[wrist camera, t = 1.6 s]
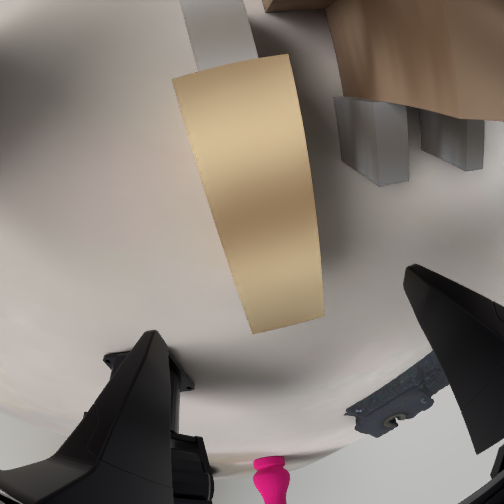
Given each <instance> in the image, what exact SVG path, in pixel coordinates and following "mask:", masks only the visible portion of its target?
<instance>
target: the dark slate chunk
mask: <svg viewBox="0 0 504 504" xmlns="http://www.w3.org/2000/svg"><path fill="white" fill-rule="evenodd" d="M448 385H449V382H448V380H447V377H446V375H445V373H444V371H443V369H442V367H441V365H440V363H439V361H438V359H437V357H436V355H435V353H434V351H432V352H431V353H429V354H428V355H427V356H425V357H424V358H423V359H422V360H420V361H419V362H417V363H416V364H415V365H413V366H412V367H411V368H409V369H408V370H407V371H405V372H404V373H402V374H401V375H399V376H398V377H397V378H396V379H394V380H392V381H391V382H389V383H388V384H386V385H385V386H383V387H382V388H380V389H379V390H377V391H376V392H374V393H373V394H371V395H370V396H368V397H366V398H364V399H363V400H361V401H359V402H357V403H356V404H354V405H353V406H351V407H349V408H347V409H346V412H347V413H345V414H344V415H349V416H355V417H356V426H355V430H356V431H359V432H361V433H365V434H370V435H372V436H374V437H376V438H378V437H380V436H382V435H383V434H386V433H387V432H388V431H390V430H393V429H394V428H395V427H397V426H398V424H397V423H396V419H395V418H397V419H398V420H404V419H410V418H413V417H414V416H416V415H417V414H418V413H419V412H421V411H425V410H426V409H428V408H430V407H431V406H432V405H433V403H434V400H433V399H431V396H432V395H433V394H436V393H437V392H438V391H439V390H440V389H442V388H444V387H445V386H448Z"/></svg>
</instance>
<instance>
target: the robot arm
mask: <svg viewBox="0 0 504 504" xmlns="http://www.w3.org/2000/svg"><path fill="white" fill-rule="evenodd" d="M403 287H404V290H405V293H406V295H407V297H408V299H409V301H410V304H411V306H412V308H413V310H414V313H415V315H416V318H417V320H418V322H419V324H420V326H421V328H422V330H423V332H424V333H425V335H426V337H427V339H428V341H429V343H430V345H431V347H432V349H433V351H434V353H435V355H436V357H437V359H438V361H439V363H440V365H441V367H442V369H443V371H444V373H445V375H446V377H447V380H448V382H449V384H450V386H451V388H452V391H453V393H454V395H455V398H456V400H457V403H458V405H459V407H460V410H461V411H462V412H461V413H462V415H463V418H464V421H465V423H466V426H467V428H468V431H469V434H470V437H471V440H472V443H473V445H474V449H475V452H476V454H479V453H481V452H483V451H485V450H486V449H488V448H489V447H491V446H493V445H494V444H496V443H497V442H499V441H500V440H502V439H503V438H504V307H503V306H501V305H499V304H498V303H496V302H494V301H493V302H492V300H490V299H488V298H486V297H484V296H482V295H480V294H478V293H476V292H474V291H472V290H470V289H468V288H466V287H464V286H462V285H460V284H458V283H456V282H454V281H452V280H450V279H448V278H446V277H444V276H442V275H440V274H438V273H436V272H433V271H431V270H429V269H427V268H425V267H423V266H420V265H418V264H413V265H410V266H408V267H407V268H406V270H405V277H404V282H403ZM103 361H104V362H105V363H106V364H107V366H108V367H109V368H110V369H111V370H112V372H111V376H110V381H109V382H108V384H107V385H106V386H105V388H104V389H103V391H102V392H101V394H100V395H99V396H98V398H97V399H96V401H95V402H94V404H93V405H92V407H91V408H90V409H89V411H88V412H84V416H83V419H82V421H81V422H80V423H79V425H78V426H77V427H76V429H75V430H74V431H73V432H72V434H71V435H70V436H69V437H68V439H67V440H66V441H65V442H64V444H63V445H62V446H61V447H60V448H59V450H58V451H57V452H56V453H55V454H54V455H53V456H51V457H50V458H48V459H46V460H43V461H40V462H37V463H33V464H30V465H26V466H23V467H19V468H16V469H12V470H4V471H3V470H0V490H1V491H2V492H4V493H5V494H7V495H8V496H7V495H5V494H3V493H1V492H0V504H212V501H211V499H212V498H213V493H214V480H213V476H212V472H211V468H210V465H209V461H208V457H207V453H206V449H205V445H204V441H203V438H202V437H199V436H195V437H193V436H188V435H183V434H179V405H180V392H182V391H191V390H194V389H195V385H194V383H193V382H192V380H191V379H190V378H189V377H188V375H187V374H186V373H185V372H184V370H183V369H182V368H181V366H180V365H179V364H178V362H177V361H176V360H175V358H174V357H173V356H172V354H171V353H170V351H169V350H168V347H167V345H166V343H165V341H164V340H163V338H162V337H161V335H160V334H159V332H158V331H156V330H150V331H146V332H145V333H144V334H143V335H142V336H141V338H140V339H139V341H138V342H137V343H136V345H135V346H134V347H133V349H132V350H131V351H130V352H125V353H116V354H106V355H104V358H103ZM490 475H491V478H492V480H491V481H489V482H488V483H487V484H485V485H484V486H483V487H481V488H480V489H479V490H477V491H476V492H475V493H473V494H472V495H471V496H469V497H467V498H466V499H464V500H463V501H461V502H460V503H459V504H504V444H503V445H502V446H501V447H500V448H499V450H498V454H497V457H496V460H495V463H494V466H493V469H492V472H491V474H490ZM9 496H10V497H9Z"/></svg>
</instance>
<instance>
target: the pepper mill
mask: <svg viewBox="0 0 504 504" xmlns="http://www.w3.org/2000/svg"><path fill="white" fill-rule="evenodd" d="M253 463H254V469H256V470H257V472H256V473H255V475H254V477H253V481H254V484H255V486H256V488H257V489H258V491H259V492H260V493H261V495H262V497H263V499H264V502H265V504H286V492H287V488H288V485H289V481H290V475H289V472H288V471H287V470H286V469H284V468H283V466H284V465H285V460H284V457H282V456H272V457H264V458H260V459H257V460H255V461H254V462H253Z"/></svg>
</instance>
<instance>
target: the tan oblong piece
mask: <svg viewBox="0 0 504 504" xmlns="http://www.w3.org/2000/svg"><path fill="white" fill-rule="evenodd" d="M180 4H181V8H182V12H183V15H184V19H185V23H186V27H187V31H188V34H189V38H190V42H191V46H192V49H193V53H194V57H195V61H196V64H197V68H198V72H195V73H192V74H188V75H185V76H182V77H179V78H175V79H172V81H173V85H174V89H175V92H176V96H177V99H178V103H179V106H180V110H181V113H182V117H183V120H184V124H185V127H186V131H187V134H188V137H189V141H190V144H191V148H192V151H193V154H194V158H195V161H196V164H197V167H198V171H199V174H200V177H201V180H202V184H203V187H204V190H205V193H206V196H207V200H208V203H209V206H210V209H211V212H212V215H213V218H214V222H215V225H216V228H217V231H218V234H219V237H220V240H221V243H222V246H223V249H224V252H225V255H226V258H227V261H228V264H229V267H230V270H231V273H232V276H233V279H234V282H235V285H236V288H237V291H238V294H239V297H240V300H241V302H242V305H243V308H244V311H245V314H246V317H247V320H248V323H249V325H250V328H251V331H252V334H257V333H261V332H265V331H270V330H274V329H278V328H282V327H286V326H290V325H294V324H298V323H302V322H306V321H309V320H313V319H317V318H320V317H324V316H325V314H324V296H323V281H322V268H321V256H320V246H319V235H318V226H317V217H316V209H315V200H314V193H313V185H312V178H311V171H310V164H309V158H308V151H307V145H306V139H305V133H304V128H303V122H302V117H301V111H300V106H299V101H298V96H297V91H296V86H295V82H294V77H293V73H292V68H291V64H290V59H289V55H288V54H283V55H275V56H268V57H262V58H258V54H257V50H256V46H255V42H254V39H253V35H252V31H251V27H250V24H249V20H248V16H247V13H246V9H245V6H244V2H243V0H180Z"/></svg>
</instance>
